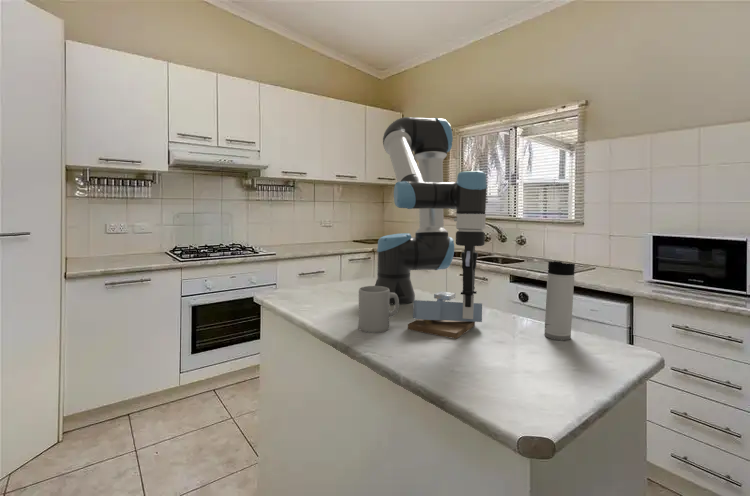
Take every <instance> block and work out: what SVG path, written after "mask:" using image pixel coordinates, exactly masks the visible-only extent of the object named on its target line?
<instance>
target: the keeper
mask: <svg viewBox="0 0 750 496" xmlns="http://www.w3.org/2000/svg"><path fill="white" fill-rule="evenodd" d="M433 298H434V299H435V300H436V301H441V302H446V301H451V300H454V299H456V292H455V293H454V292H447V291H438V292H435V293H434V294H433Z"/></svg>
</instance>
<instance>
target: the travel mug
mask: <svg viewBox="0 0 750 496" xmlns="http://www.w3.org/2000/svg"><path fill="white" fill-rule="evenodd" d="M575 266H576V264H575V263H570V262H569V263H568V262H567V263H566V262H565V263H564V262H562V261H556V260H555V261H548V264H547V267H548V268H547V277H546V279H547V282H546V297H545V319H544V334H543V335H544V337H546V338H547V339H550V340H554V341H555V340H556V341H569V340H570V339H571V337H572V321H573V307H574V306H573V305H574V304H573V303H574V287H575V269H576V267H575Z"/></svg>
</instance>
